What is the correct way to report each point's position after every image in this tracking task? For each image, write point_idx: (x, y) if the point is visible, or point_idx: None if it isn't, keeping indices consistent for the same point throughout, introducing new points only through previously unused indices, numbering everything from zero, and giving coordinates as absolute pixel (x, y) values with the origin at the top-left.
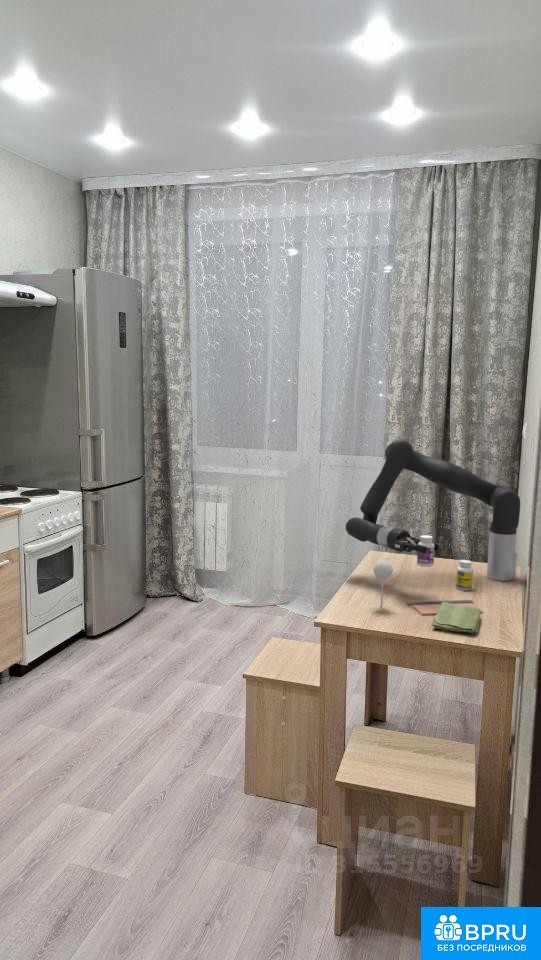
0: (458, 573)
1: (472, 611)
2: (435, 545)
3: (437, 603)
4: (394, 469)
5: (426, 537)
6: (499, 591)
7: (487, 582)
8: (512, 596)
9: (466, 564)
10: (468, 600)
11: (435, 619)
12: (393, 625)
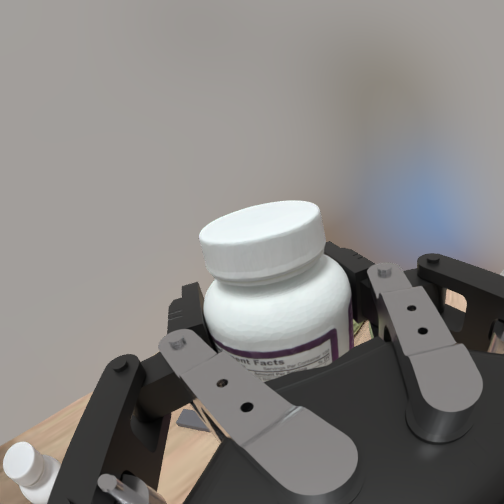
0: None
1: None
2: (202, 297)
3: None
4: None
5: (280, 204)
6: (51, 446)
7: (10, 495)
8: (66, 414)
9: (37, 451)
10: (185, 421)
11: None
12: (461, 304)
